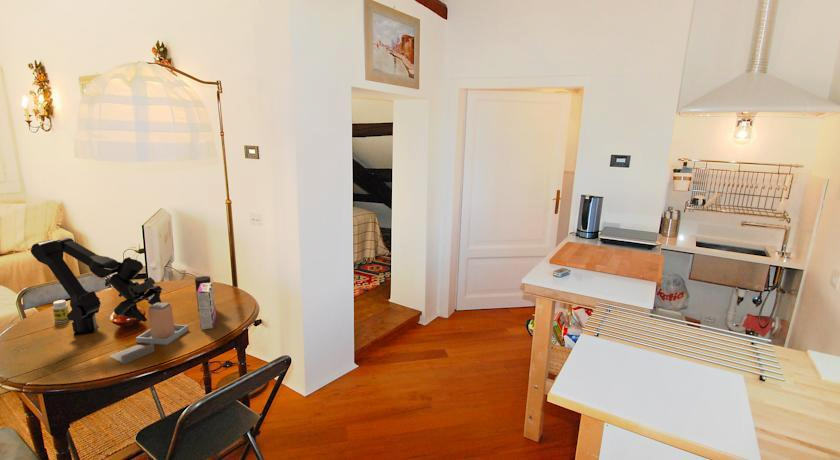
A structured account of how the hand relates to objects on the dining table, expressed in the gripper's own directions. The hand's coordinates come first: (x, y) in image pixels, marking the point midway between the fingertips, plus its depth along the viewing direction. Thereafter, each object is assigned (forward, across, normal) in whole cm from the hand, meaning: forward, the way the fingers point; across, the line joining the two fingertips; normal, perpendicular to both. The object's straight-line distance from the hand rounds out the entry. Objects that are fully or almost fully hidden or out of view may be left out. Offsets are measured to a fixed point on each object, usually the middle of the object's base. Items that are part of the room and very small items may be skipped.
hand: (155, 315), depth 159 cm
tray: (+8, 0, +4) cm, 9 cm away
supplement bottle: (-27, +7, +41) cm, 50 cm away
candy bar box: (+15, +13, -3) cm, 20 cm away
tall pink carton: (+8, 0, +4) cm, 9 cm away
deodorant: (+8, +26, +4) cm, 28 cm away
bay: (+6, -13, +6) cm, 16 cm away
